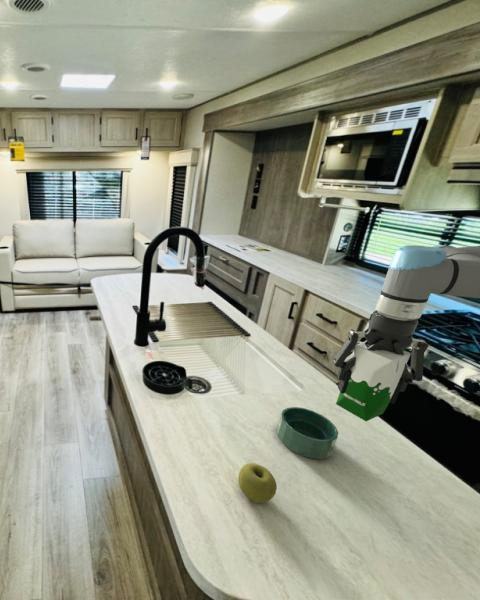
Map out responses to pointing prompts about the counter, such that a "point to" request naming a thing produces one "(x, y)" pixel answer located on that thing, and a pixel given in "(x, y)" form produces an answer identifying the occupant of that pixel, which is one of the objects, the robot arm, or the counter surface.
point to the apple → (257, 483)
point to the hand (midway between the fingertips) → (364, 395)
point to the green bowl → (307, 432)
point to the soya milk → (372, 381)
